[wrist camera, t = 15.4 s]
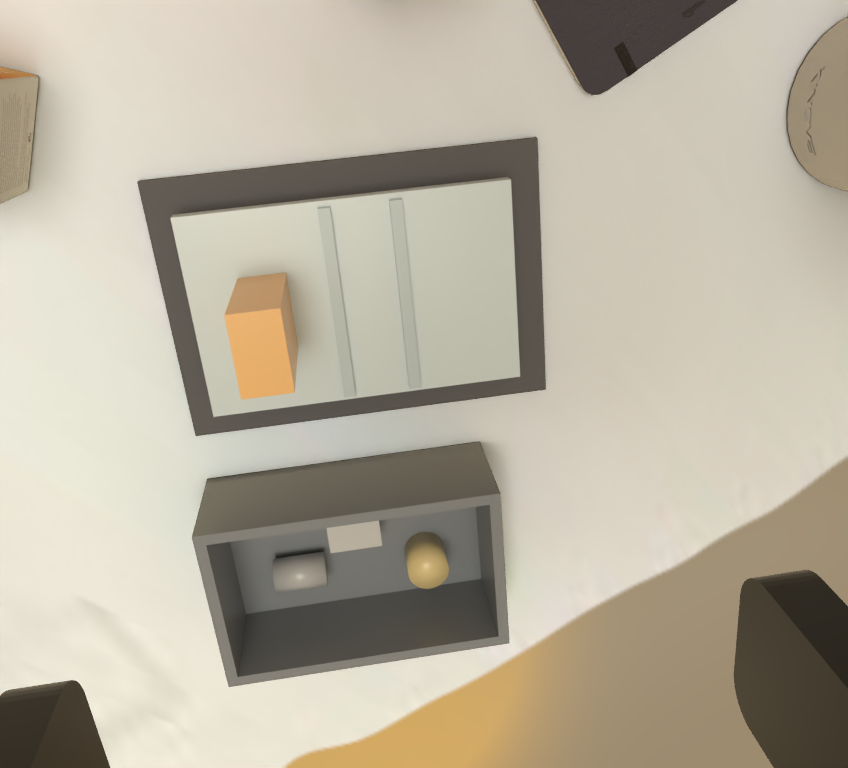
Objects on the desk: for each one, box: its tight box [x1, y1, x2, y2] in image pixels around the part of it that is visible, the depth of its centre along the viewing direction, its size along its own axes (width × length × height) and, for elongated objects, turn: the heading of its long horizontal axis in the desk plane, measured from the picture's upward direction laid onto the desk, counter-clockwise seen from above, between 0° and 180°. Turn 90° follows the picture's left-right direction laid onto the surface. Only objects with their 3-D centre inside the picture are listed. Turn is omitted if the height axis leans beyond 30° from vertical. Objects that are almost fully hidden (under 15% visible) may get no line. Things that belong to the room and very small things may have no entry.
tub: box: [192, 442, 509, 687], centre depth 46 cm, size 16×10×6 cm, turn 95°
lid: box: [170, 177, 520, 417], centre depth 39 cm, size 17×11×8 cm, turn 95°
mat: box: [137, 137, 546, 436], centre depth 43 cm, size 20×14×1 cm
